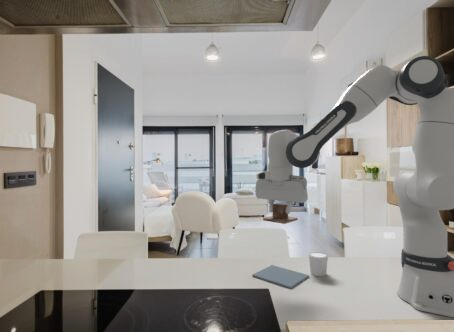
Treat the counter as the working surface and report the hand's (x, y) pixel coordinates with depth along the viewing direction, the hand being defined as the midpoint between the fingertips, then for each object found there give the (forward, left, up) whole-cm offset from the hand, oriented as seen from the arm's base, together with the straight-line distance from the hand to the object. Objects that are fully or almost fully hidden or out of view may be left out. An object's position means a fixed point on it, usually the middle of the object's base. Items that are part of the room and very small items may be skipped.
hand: (280, 212), depth 106 cm
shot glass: (-9, -12, -24) cm, 28 cm away
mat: (0, 0, -23) cm, 23 cm away
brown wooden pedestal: (0, 0, -3) cm, 3 cm away
